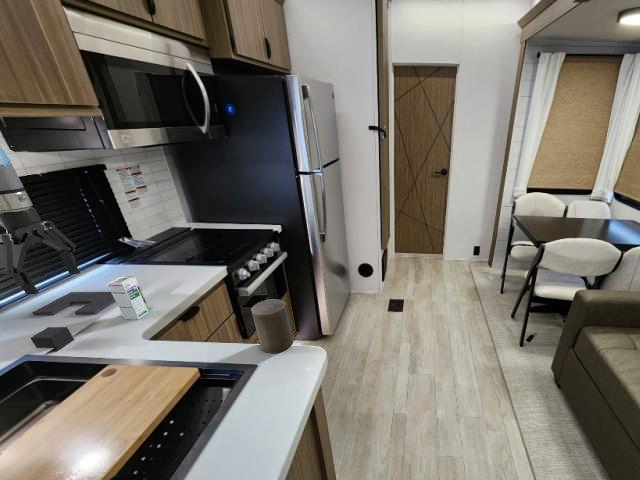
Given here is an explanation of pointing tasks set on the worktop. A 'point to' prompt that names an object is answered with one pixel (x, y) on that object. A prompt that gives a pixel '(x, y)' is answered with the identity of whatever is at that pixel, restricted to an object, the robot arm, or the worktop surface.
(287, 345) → the pillar candle
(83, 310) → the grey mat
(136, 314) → the syrup box
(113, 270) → the worktop surface
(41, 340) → the black pad
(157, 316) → the worktop surface
